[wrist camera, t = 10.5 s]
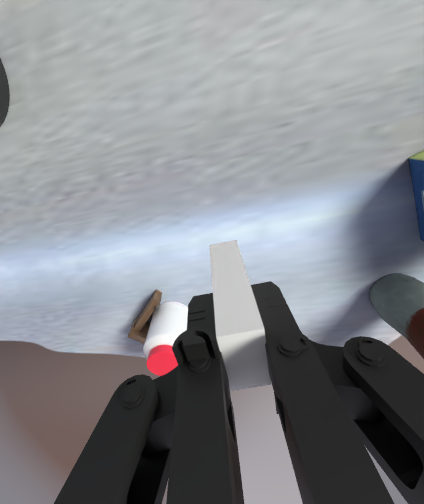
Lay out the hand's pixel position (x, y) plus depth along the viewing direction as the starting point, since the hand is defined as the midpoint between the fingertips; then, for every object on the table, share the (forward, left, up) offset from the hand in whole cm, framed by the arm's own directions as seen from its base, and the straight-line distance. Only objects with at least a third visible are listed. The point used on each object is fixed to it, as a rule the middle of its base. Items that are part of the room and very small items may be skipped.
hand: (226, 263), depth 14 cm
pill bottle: (+3, -27, -26) cm, 37 cm away
